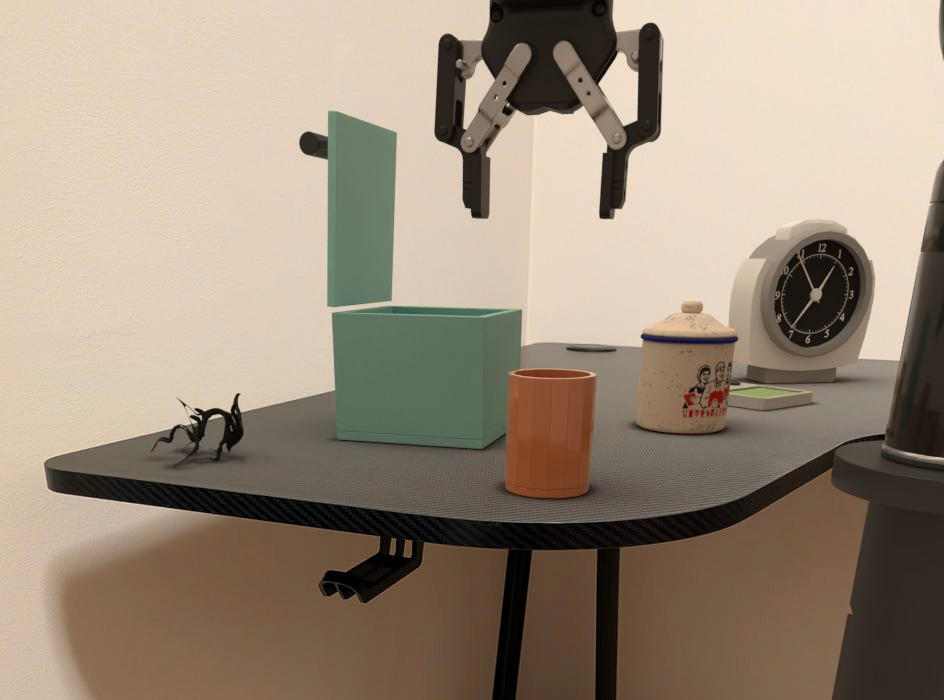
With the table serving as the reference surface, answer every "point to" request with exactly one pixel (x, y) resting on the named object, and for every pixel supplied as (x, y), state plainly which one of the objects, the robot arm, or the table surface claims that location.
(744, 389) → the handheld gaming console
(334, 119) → the lid
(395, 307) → the box
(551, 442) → the cup
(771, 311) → the alarm clock
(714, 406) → the teacup with lid
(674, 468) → the table surface
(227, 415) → the creature
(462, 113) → the robot arm
